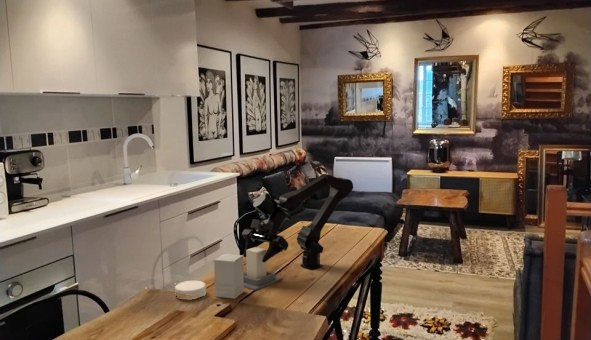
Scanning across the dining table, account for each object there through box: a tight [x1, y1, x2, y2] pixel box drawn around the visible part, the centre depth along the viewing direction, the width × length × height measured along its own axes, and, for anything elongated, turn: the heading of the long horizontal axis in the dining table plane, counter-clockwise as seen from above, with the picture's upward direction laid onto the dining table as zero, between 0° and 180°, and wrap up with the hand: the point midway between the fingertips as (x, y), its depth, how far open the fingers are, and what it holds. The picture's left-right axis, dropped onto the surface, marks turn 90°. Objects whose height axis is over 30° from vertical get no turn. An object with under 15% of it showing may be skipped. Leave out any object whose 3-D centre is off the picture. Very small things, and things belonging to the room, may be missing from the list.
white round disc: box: [174, 280, 207, 297], centre depth 156 cm, size 10×10×4 cm
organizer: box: [243, 270, 283, 291], centre depth 169 cm, size 14×12×3 cm
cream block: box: [245, 246, 267, 279], centre depth 169 cm, size 5×5×11 cm
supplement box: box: [213, 253, 245, 300], centre depth 156 cm, size 7×7×13 cm
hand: (253, 259), depth 167 cm, fingers open, 9 cm apart
